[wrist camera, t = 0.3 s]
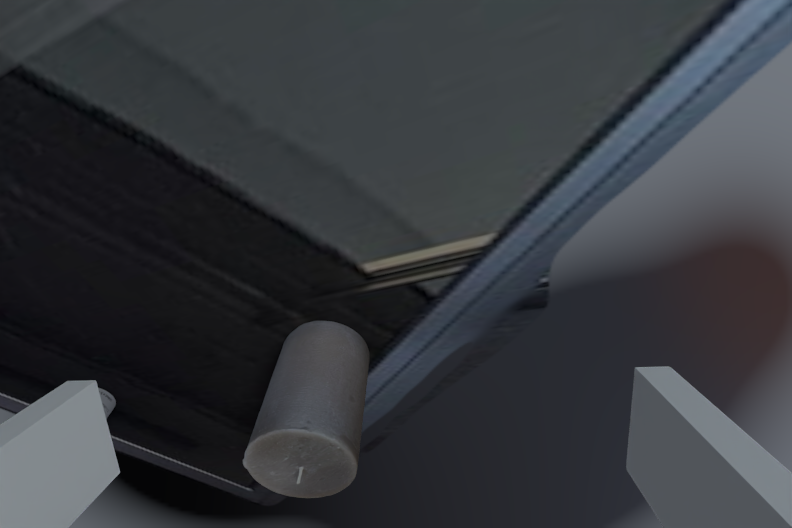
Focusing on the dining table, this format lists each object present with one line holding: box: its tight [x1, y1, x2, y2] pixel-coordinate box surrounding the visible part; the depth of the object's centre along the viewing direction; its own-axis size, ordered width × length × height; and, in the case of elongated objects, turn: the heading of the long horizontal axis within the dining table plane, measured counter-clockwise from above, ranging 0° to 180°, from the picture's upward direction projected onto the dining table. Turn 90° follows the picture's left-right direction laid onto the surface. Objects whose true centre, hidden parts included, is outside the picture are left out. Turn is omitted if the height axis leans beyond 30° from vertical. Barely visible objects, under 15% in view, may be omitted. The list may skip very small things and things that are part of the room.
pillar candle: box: [243, 321, 369, 498], centre depth 41 cm, size 10×10×15 cm
